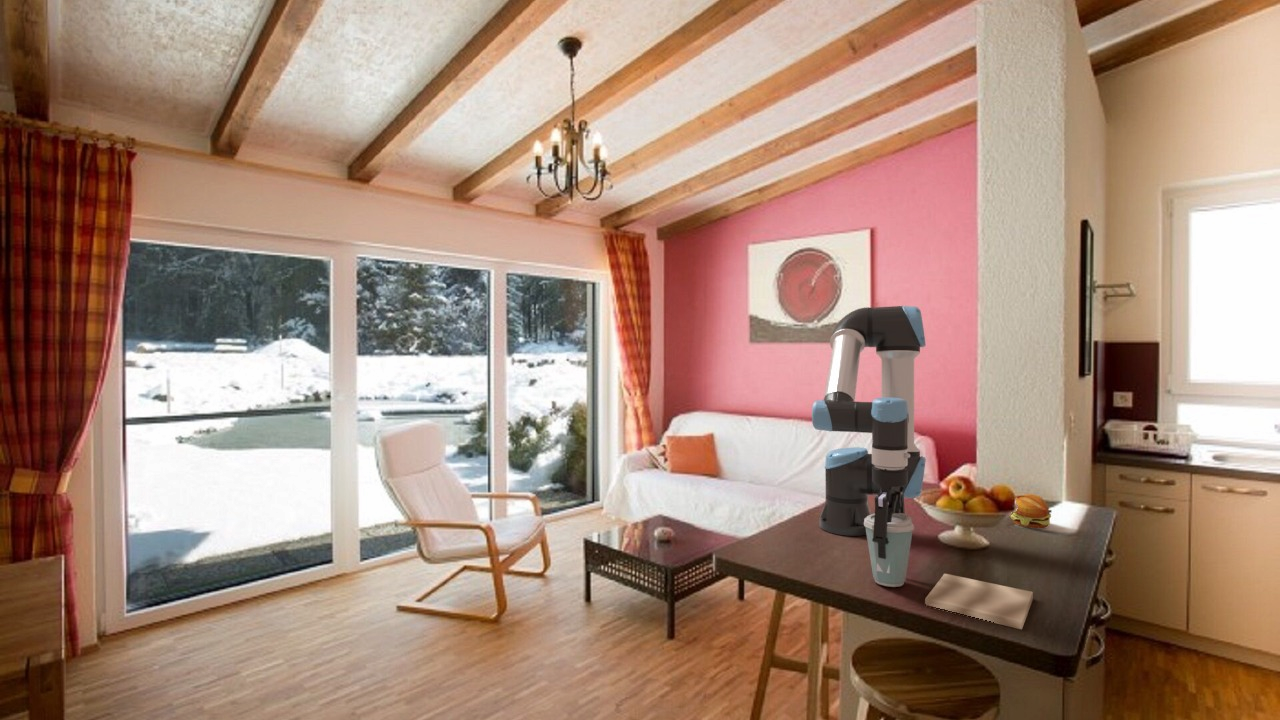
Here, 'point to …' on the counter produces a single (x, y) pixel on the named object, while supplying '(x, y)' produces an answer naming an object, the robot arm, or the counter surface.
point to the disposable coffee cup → (891, 549)
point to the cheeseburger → (1031, 512)
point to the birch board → (981, 600)
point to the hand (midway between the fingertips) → (890, 565)
